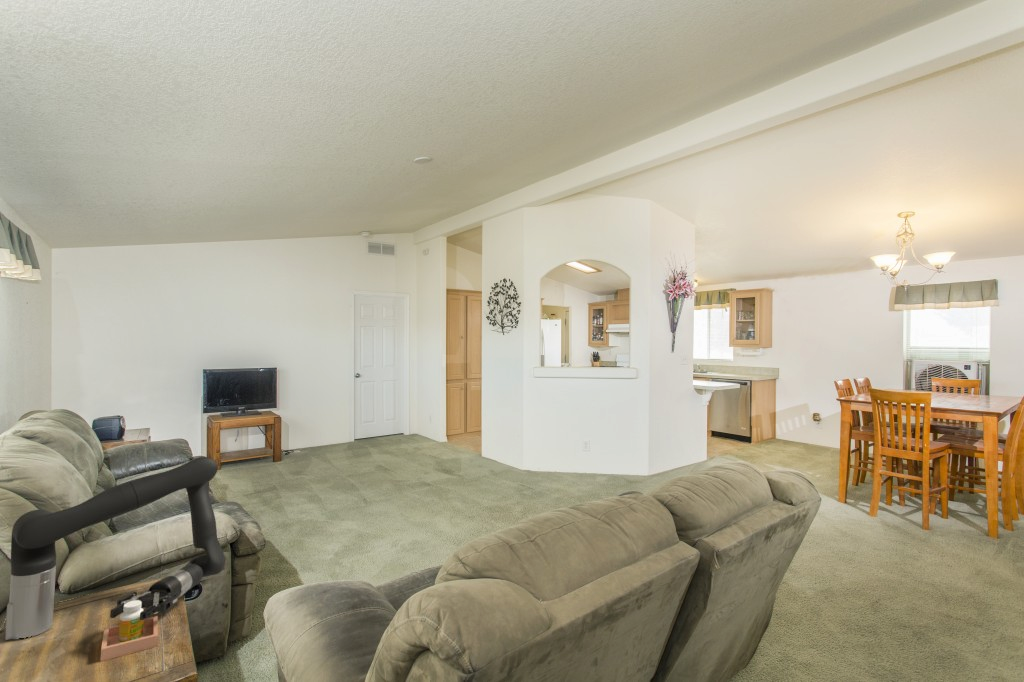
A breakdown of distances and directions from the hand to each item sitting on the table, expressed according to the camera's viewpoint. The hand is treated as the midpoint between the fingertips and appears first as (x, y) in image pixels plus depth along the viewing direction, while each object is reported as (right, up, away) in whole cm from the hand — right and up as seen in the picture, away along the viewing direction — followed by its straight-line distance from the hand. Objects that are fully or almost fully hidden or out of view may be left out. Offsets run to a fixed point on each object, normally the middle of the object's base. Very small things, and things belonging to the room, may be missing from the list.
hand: (126, 615), depth 134 cm
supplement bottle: (0, -8, +2) cm, 8 cm away
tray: (0, -8, +2) cm, 9 cm away
